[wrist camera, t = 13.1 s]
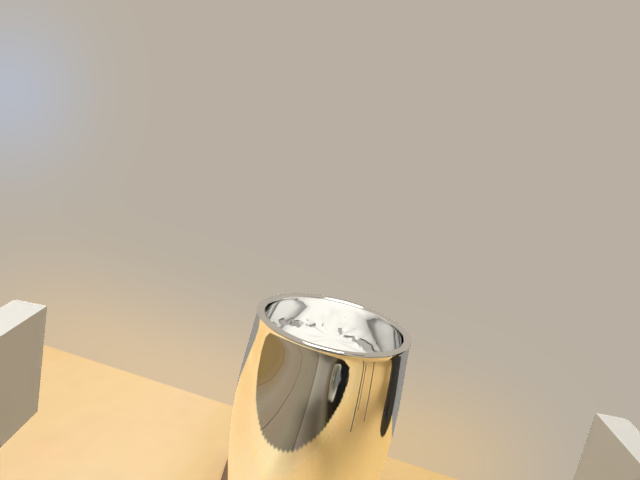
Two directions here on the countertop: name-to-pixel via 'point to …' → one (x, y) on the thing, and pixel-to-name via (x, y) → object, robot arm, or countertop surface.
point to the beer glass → (317, 391)
